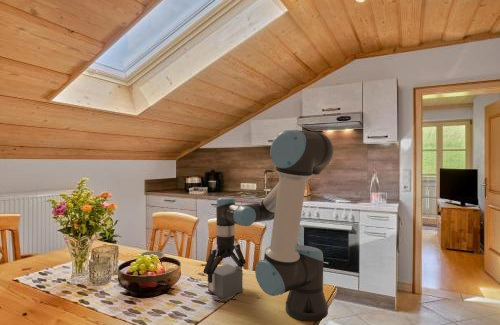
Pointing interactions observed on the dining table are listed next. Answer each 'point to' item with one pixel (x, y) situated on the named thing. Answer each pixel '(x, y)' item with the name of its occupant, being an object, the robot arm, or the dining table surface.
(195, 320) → the dining table surface
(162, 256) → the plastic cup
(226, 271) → the matte grey cube
